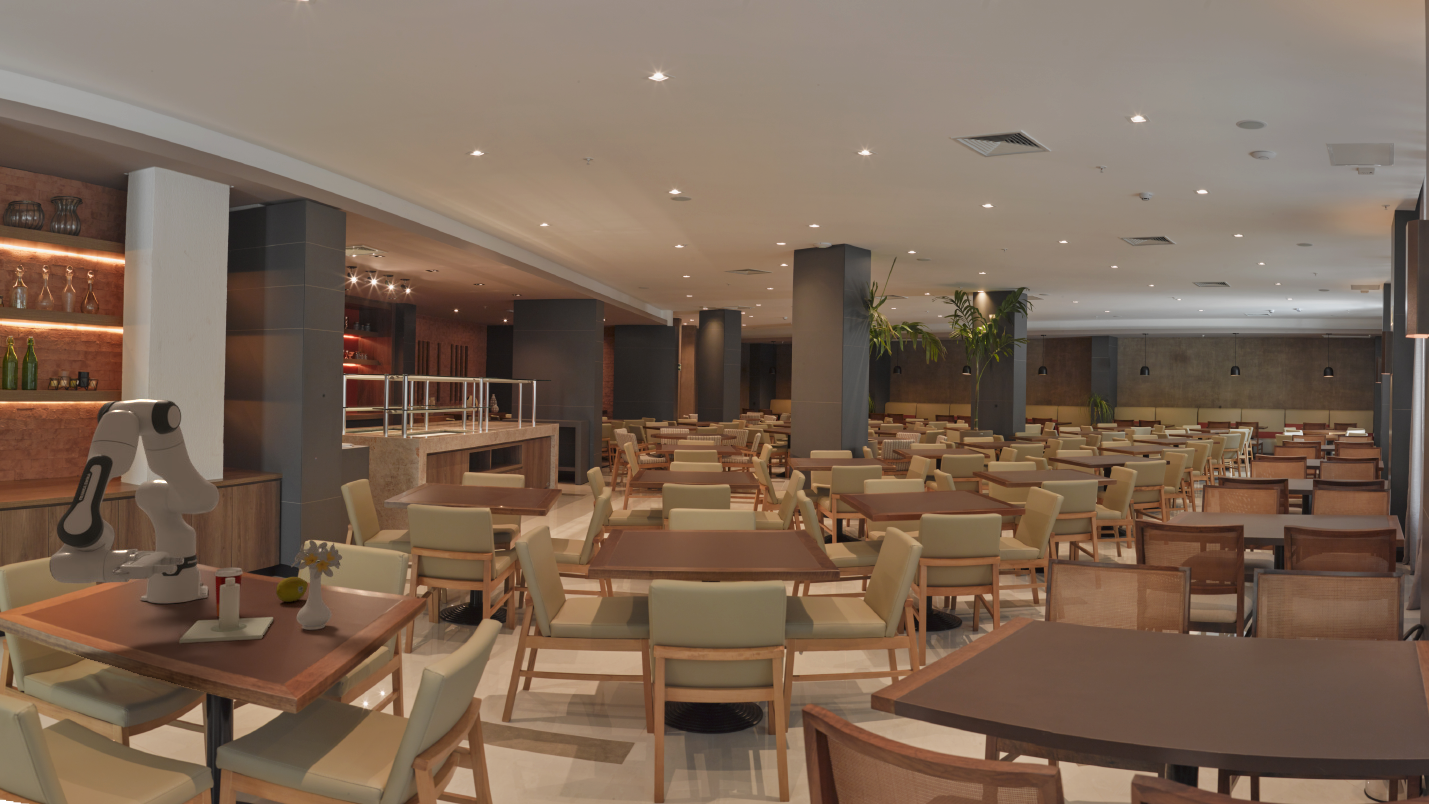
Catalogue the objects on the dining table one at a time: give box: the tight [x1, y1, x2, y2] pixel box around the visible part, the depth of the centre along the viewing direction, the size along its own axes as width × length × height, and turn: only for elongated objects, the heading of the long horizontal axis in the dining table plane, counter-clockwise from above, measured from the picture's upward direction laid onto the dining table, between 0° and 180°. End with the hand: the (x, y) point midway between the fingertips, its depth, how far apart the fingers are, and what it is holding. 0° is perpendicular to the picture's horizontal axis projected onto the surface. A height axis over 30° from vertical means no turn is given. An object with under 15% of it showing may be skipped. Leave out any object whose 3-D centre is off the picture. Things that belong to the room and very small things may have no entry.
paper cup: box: [214, 567, 244, 618], centre depth 262 cm, size 8×8×14 cm
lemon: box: [275, 576, 309, 603], centre depth 281 cm, size 11×8×8 cm
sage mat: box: [179, 616, 274, 644], centre depth 245 cm, size 20×20×1 cm
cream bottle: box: [218, 578, 241, 629], centre depth 245 cm, size 5×5×14 cm
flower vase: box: [290, 539, 343, 631], centre depth 252 cm, size 13×18×25 cm
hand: (178, 564), depth 241 cm, fingers open, 8 cm apart
